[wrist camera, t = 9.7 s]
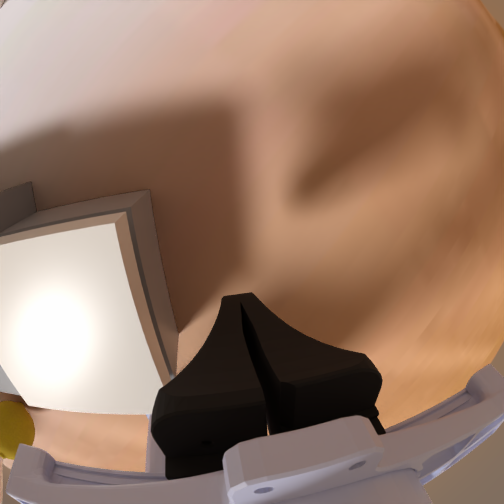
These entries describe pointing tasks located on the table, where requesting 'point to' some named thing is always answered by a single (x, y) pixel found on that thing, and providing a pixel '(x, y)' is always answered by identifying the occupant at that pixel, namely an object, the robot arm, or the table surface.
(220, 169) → the table surface
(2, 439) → the lemon
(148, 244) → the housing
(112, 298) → the cream square tile
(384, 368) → the table surface
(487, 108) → the table surface
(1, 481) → the cup
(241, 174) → the table surface
